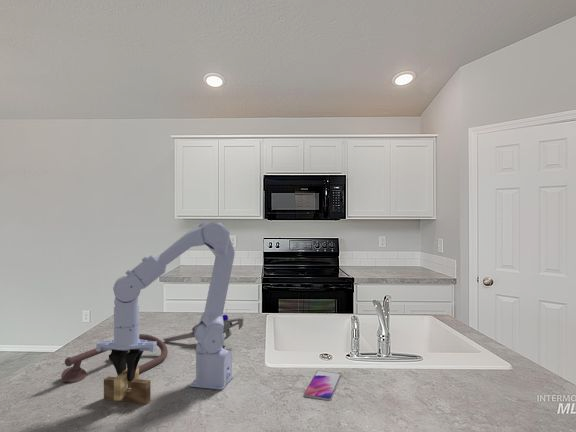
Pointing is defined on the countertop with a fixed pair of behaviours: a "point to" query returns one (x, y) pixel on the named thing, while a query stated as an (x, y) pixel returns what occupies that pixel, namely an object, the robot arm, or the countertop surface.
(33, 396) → the countertop surface
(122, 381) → the light wooden block
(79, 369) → the toilet paper hanger
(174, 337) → the toy gun
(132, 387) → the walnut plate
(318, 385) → the smartphone
